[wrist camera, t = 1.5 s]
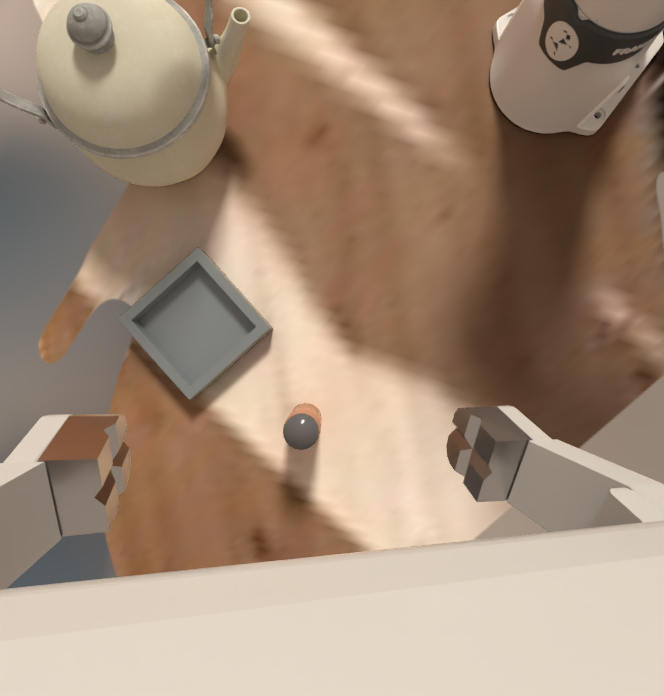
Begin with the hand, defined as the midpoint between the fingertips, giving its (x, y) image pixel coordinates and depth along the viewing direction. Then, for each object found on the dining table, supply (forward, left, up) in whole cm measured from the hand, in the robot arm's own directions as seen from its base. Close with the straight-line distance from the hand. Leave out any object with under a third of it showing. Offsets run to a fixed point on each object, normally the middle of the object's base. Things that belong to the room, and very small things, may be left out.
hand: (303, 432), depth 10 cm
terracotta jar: (+7, +3, -41) cm, 42 cm away
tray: (+9, -15, -41) cm, 44 cm away
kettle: (-6, -36, -41) cm, 55 cm away
